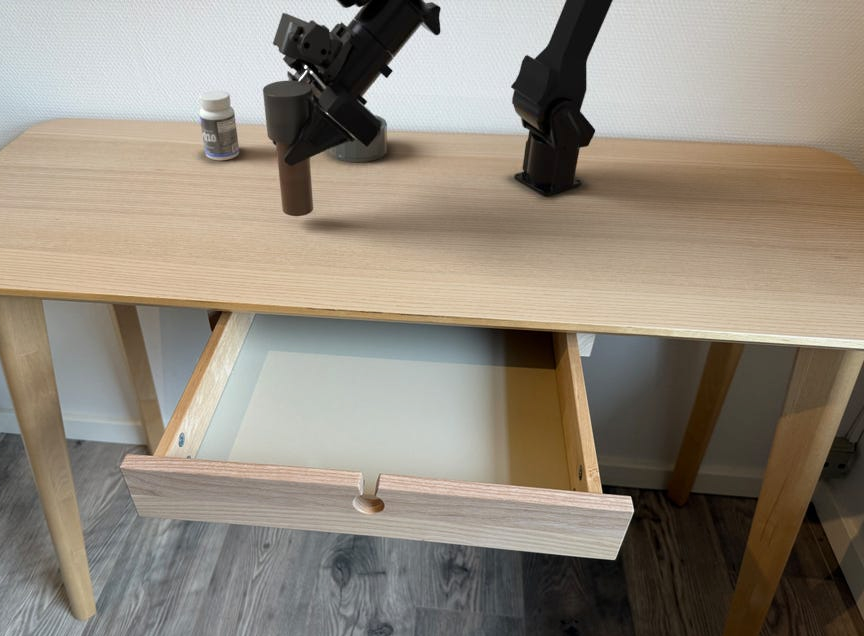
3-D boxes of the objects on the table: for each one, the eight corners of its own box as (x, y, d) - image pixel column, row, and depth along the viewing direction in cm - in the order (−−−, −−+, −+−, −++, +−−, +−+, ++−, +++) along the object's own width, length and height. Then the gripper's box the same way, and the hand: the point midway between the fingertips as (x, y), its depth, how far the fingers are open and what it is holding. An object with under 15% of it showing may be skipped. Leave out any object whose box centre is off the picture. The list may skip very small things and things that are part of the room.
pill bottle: (199, 153, 101) (189, 93, 96) (228, 145, 103) (220, 86, 98) (216, 164, 98) (207, 103, 93) (246, 155, 101) (238, 95, 95)
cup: (397, 154, 101) (397, 126, 98) (348, 167, 98) (347, 138, 95) (368, 135, 106) (367, 109, 104) (320, 147, 103) (319, 119, 100)
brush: (328, 212, 83) (321, 90, 74) (287, 223, 81) (275, 100, 72) (307, 195, 87) (298, 77, 78) (268, 205, 84) (254, 85, 76)
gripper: (294, -36, 77) (207, 81, 81) (346, 4, 63) (239, 142, 67) (365, 35, 84) (282, 139, 88) (425, 85, 70) (324, 205, 74)
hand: (280, 153), depth 79 cm, fingers closed on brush, 5 cm apart
